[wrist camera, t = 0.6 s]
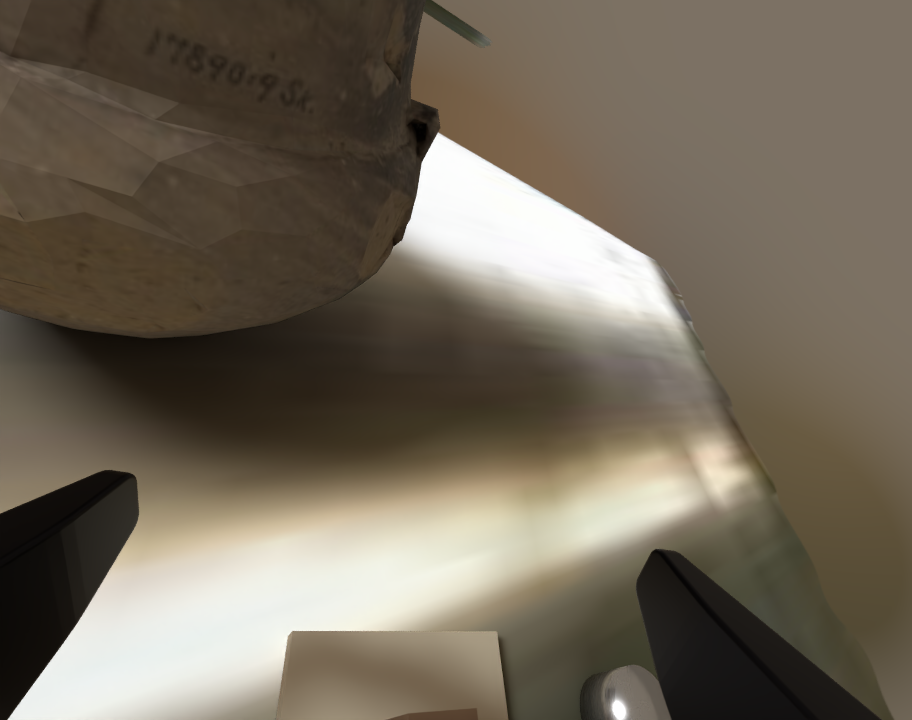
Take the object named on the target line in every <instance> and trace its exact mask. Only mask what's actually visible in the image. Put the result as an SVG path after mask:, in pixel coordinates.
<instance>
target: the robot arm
mask: <svg viewBox="0 0 912 720" xmlns="http://www.w3.org/2000/svg"><path fill="white" fill-rule="evenodd" d="M138 517H139V503H138V490H137V480H136V477H135V476H134V475H133V474H131V473H127V472H120V471H113V470H104V471H101V472H98V473H96V474H93V475H91V476H89V477H86V478H84V479H81V480H79V481H77V482H74V483H72V484H70V485H67V486H65V487H62V488H60V489H58V490H55V491H53V492H51V493H48V494H46V495H43V496H41V497H39V498H36V499H34V500H32V501H29V502H27V503H24V504H22V505H20V506H17V507H15V508H13V509H10V510H8V511H5V512H3V513H1V514H0V720H7V719H8V718H9V717H10V715H11V714H12V713H13V711H14V710H15V708H16V707H17V706H18V704H19V703H20V702H21V700H22V699H23V698H24V696H25V695H26V693H27V692H28V691H29V689H30V688H31V687H32V685H33V684H34V682H35V681H36V680H37V678H38V677H39V676H40V674H41V673H42V672H43V670H44V669H45V667H46V666H47V665H48V663H49V662H50V661H51V659H52V658H53V656H54V655H55V654H56V652H57V651H58V650H59V648H60V647H61V645H62V644H63V643H64V641H65V640H66V639H67V637H68V636H69V634H70V633H71V631H72V630H73V629H74V627H75V626H76V624H77V623H78V621H79V619H80V618H81V616H82V615H83V613H84V612H85V610H86V608H87V607H88V605H89V603H90V602H91V600H92V598H93V597H94V595H95V593H96V592H97V590H98V588H99V587H100V585H101V583H102V582H103V580H104V578H105V577H106V575H107V573H108V572H109V570H110V568H111V567H112V565H113V563H114V562H115V560H116V558H117V557H118V555H119V553H120V552H121V550H122V548H123V546H124V545H125V543H126V541H127V540H128V538H129V536H130V535H131V533H132V531H133V530H134V528H135V526H136V524H137V521H138ZM636 593H637V598H638V602H639V606H640V610H641V614H642V618H643V622H644V626H645V630H646V634H647V638H648V642H649V646H650V650H651V654H652V658H653V662H654V666H655V670H656V673H657V677H658V681H659V684H660V687H661V690H662V693H663V697H664V700H665V703H666V706H667V709H668V711H669V714H670V717H671V720H882V719H880V718H879V717H878V716H877V715H875V714H874V713H873V712H872V711H871V710H869V709H868V708H867V707H866V706H865V705H863V704H862V703H861V702H860V701H858V700H857V699H856V698H855V697H854V696H852V695H851V694H850V693H849V692H848V691H846V690H845V689H844V688H843V687H841V686H840V685H839V684H838V683H837V682H835V681H834V680H833V679H832V678H831V677H829V676H828V675H827V674H826V673H824V672H823V671H822V670H821V669H820V668H818V667H817V666H816V665H815V664H814V663H812V662H811V661H810V660H809V659H807V658H806V657H805V656H804V655H803V654H801V653H800V652H799V651H798V650H797V649H795V648H794V647H793V646H792V645H790V644H789V643H788V642H787V641H786V640H784V639H783V638H782V637H781V636H780V635H778V634H777V633H776V632H775V631H773V630H772V629H771V628H770V627H769V626H767V625H766V624H765V623H764V622H763V621H761V620H760V619H759V618H758V617H756V616H755V615H754V614H753V613H752V612H750V611H749V610H748V609H747V608H746V607H744V606H743V605H742V604H741V603H739V602H738V601H737V600H736V599H735V598H733V597H732V596H731V595H730V594H729V593H727V592H726V591H725V590H724V589H722V588H721V587H720V586H719V585H718V584H716V583H715V582H714V581H713V580H712V579H710V578H709V577H708V576H707V575H705V574H704V573H703V572H702V571H701V570H699V569H698V568H697V567H696V566H695V565H693V564H692V563H691V562H690V561H689V560H687V559H686V558H685V557H684V556H682V555H681V554H680V553H678V552H676V551H671V550H664V549H655V550H654V551H652V552H651V554H650V555H649V557H648V559H647V561H646V563H645V565H644V567H643V568H642V570H641V572H640V574H639V576H638V578H637V582H636Z"/></svg>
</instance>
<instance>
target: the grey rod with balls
mask: <svg viewBox="0 0 912 720" xmlns="http://www.w3.org/2000/svg"><path fill="white" fill-rule="evenodd" d="M580 713H581V719H582V720H671V717H670V714H669V711H668V709H667V706H666V703H665V700H664V697H663V693H662V690H661V687H660V684H659V682H658V680H657V679H656V678H655V677H654V676H653V675H652V674H651V673H650V672H649V671H647V670H646V669H644V668H643V667H640V666H637V665H629V666H625V667H621V668H617V669H613V670H609V671H605V672H601V673H597V674H594V675H591V676H590V677H589V678H588V679H587V680H586V681H585V683H584V685H583V687H582V690H581V694H580Z"/></svg>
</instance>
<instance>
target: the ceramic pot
mask: <svg viewBox="0 0 912 720" xmlns="http://www.w3.org/2000/svg"><path fill="white" fill-rule="evenodd" d="M425 2H426V0H0V309H2V310H5V311H8V312H12V313H15V314H19V315H23V316H27V317H30V318H34V319H38V320H42V321H45V322H49V323H53V324H57V325H60V326H64V327H68V328H71V329H78V330H85V331H92V332H100V333H109V334H117V335H125V336H134V337H142V338H165V337H183V336H201V335H207V334H213V333H219V332H225V331H231V330H237V329H243V328H249V327H255V326H261V325H267V324H273V323H277V322H280V321H283V320H285V319H288V318H291V317H293V316H296V315H299V314H301V313H304V312H306V311H309V310H312V309H314V308H317V307H320V306H322V305H325V304H327V303H330V302H333V301H335V300H338V299H340V298H341V297H343V296H344V295H346V294H347V293H349V292H350V291H352V290H353V289H355V288H356V287H358V286H359V285H361V284H362V283H363V282H365V281H366V280H367V279H369V278H370V277H371V276H373V275H374V274H375V273H377V271H378V270H379V269H380V267H381V266H382V264H383V263H384V262H385V260H386V259H387V258H388V256H389V255H390V253H391V251H392V248H393V246H395V245H396V244H397V243H399V242H400V241H401V240H402V239H403V236H404V233H405V229H406V226H407V224H408V222H409V221H410V219H411V214H412V210H413V206H414V202H415V199H416V195H417V189H418V182H419V176H420V170H421V163H422V161H423V159H424V157H425V155H426V153H427V152H428V150H429V148H430V146H431V144H432V142H433V140H434V139H435V137H436V135H437V133H438V131H439V129H440V122H439V115H438V109H436V108H433V107H430V106H428V105H425V104H422V103H420V102H417V101H415V100H412V99H411V78H412V71H413V65H414V59H415V53H416V46H417V40H418V34H419V28H420V23H421V19H422V14H423V10H424V6H425Z"/></svg>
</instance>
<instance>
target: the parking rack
mask: <svg viewBox="0 0 912 720" xmlns="http://www.w3.org/2000/svg"><path fill="white" fill-rule="evenodd" d="M276 720H508V713H507V705H506V697H505V690H504V682H503V674H502V667H501V659H500V651H499V644H498V636H497V632H464V631H292V632H291V633H290V635H289V636H288V640H287V647H286V654H285V661H284V668H283V675H282V682H281V689H280V696H279V703H278V710H277V717H276Z"/></svg>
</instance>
